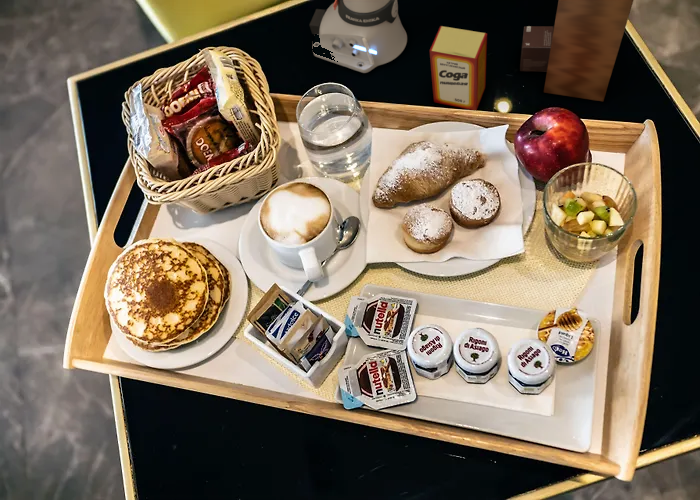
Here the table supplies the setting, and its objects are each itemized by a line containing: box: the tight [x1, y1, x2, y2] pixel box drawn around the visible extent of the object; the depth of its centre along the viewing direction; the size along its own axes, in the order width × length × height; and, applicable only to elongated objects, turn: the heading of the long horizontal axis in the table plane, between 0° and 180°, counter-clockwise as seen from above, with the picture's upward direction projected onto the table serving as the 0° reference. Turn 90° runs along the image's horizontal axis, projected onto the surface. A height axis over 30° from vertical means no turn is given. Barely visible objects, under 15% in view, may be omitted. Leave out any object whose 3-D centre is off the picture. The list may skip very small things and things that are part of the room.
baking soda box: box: [429, 25, 488, 111], centre depth 124 cm, size 10×6×16 cm
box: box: [519, 25, 554, 73], centre depth 128 cm, size 6×6×7 cm
